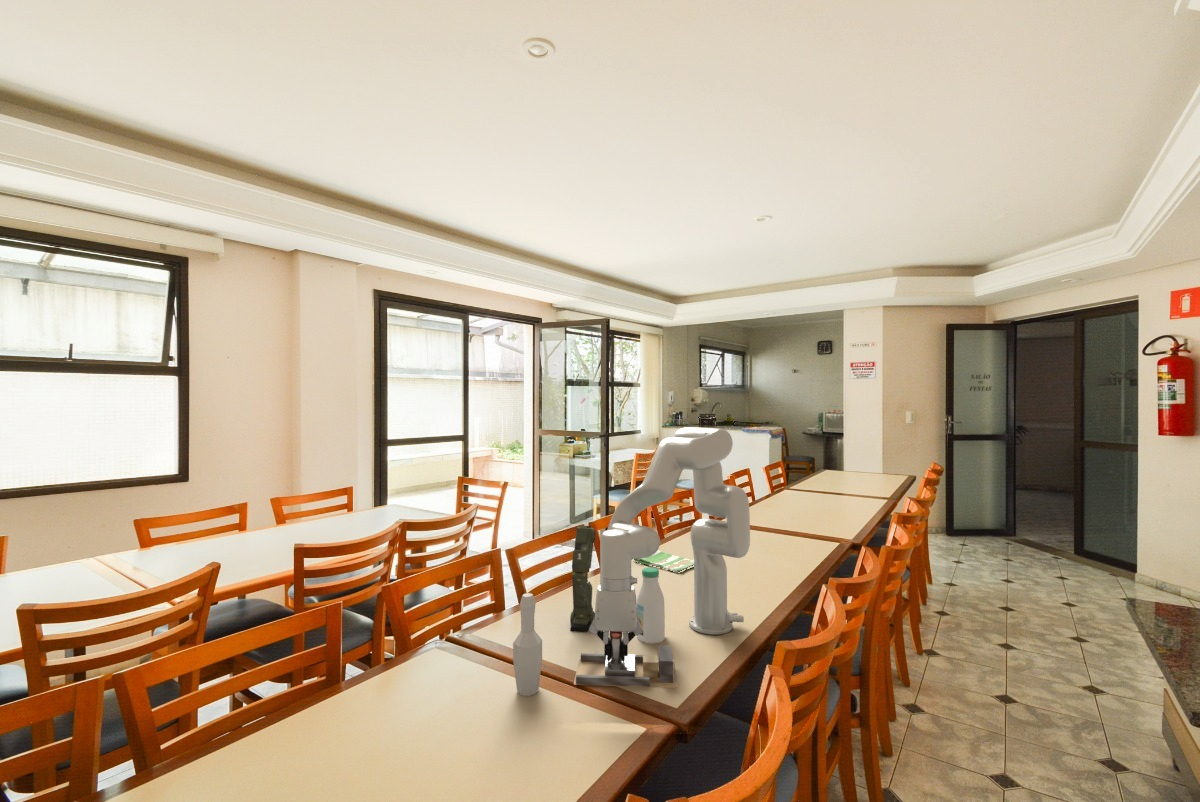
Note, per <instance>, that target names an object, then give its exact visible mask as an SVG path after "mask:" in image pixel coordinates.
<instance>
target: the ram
mask: <svg viewBox="0 0 1200 802" xmlns="http://www.w3.org/2000/svg"><path fill="white" fill-rule="evenodd" d="M609 638H610V660H609V661H607V656H606V664H605V676H630V677H635V655H636V654H633V653H631V654H630V653H628V656H625V662H623V661H622V641H623V632H612V631H609Z"/></svg>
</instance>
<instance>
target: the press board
mask: <svg viewBox="0 0 1200 802" xmlns="http://www.w3.org/2000/svg"><path fill="white" fill-rule="evenodd" d="M643 655H644V654H635V677H630V676H605V664H606V656H604V653H580V658H579V659H578V664H577V668H576V671H575V676H574V681H573V685H575V686H577V685H578V686H606V687H607V686H608V687H609V686H610V687H635V688H636V687H638V688H664V689H665V688H668V689H669V688H670V689H673V688H674V689H679V684H678V679H677V677H678V676H677V672H676V665H675V662H674V660H673V652H672V646H671V645H666V644H665V645H663V644H662V645H658V677H643Z"/></svg>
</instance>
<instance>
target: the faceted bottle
mask: <svg viewBox="0 0 1200 802" xmlns="http://www.w3.org/2000/svg"><path fill="white" fill-rule="evenodd" d="M519 612H520V624H521V625H520V632H519V633H518V635H517V637H516V638H515V639H514V640H513V642H512V643H513V644H512V657H513V658H512V662H513V670H514V676H515V677H514V678H515V685H516V691H517V693H518V694H519V695H521V696H525V697H530V696H533V695H535V694H537V692H538V691H539V689H540V687H539V686H540V682H541V681H540V680H541V679H540V678H541V671H542V664H543V663H542V662H543V639H542V638H541V637H540V635H539V634H538V632H537V631H536V630H535V613H536V600H535V597H534V594H533V593H531V592H528V593H527V592H526V593H523V594H522V596H521V598H520V603H519Z"/></svg>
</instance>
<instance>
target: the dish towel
mask: <svg viewBox="0 0 1200 802" xmlns="http://www.w3.org/2000/svg"><path fill="white" fill-rule="evenodd" d="M665 559H668V560H666V561H667V562H663V563H657V562H660V561H663V560H665ZM682 560H688V561H690V562H692V563H690V564H688V565H682V564H681V565H680V566H679V567H673V568H668V566H670V564H678V562H680V561H682ZM635 562H637V563H636V564H638V563H641V564H640V565H642V564H645V565H644V566H647V565H652V566H656V567H660V568H664V569H668V570H672V571H674V572H680V571H682V570H684V569H687V568H688V567H690V566H693V565H694V559H690V558H685V557H683V556H678V555H673V554H671V553H668V552H664V551H661V550H659V549H658V550H657V552H656V553H655V554H654V555H652V556H650V557H647V558H637V559H633V563H635ZM674 572H673V573H674Z"/></svg>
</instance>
